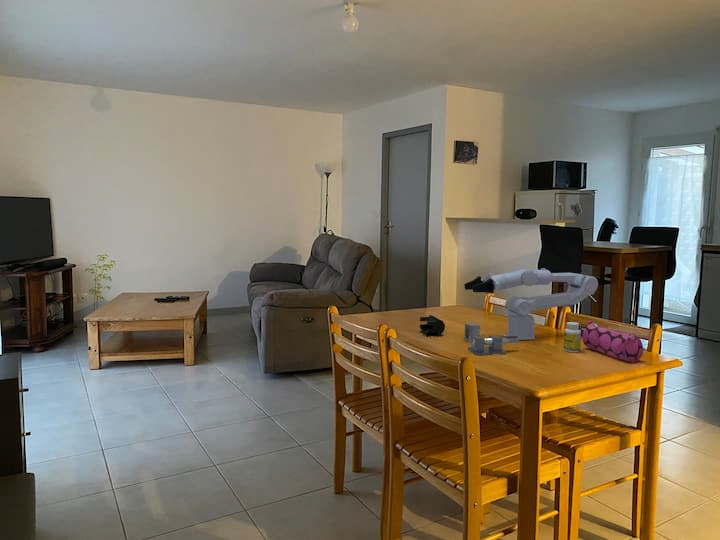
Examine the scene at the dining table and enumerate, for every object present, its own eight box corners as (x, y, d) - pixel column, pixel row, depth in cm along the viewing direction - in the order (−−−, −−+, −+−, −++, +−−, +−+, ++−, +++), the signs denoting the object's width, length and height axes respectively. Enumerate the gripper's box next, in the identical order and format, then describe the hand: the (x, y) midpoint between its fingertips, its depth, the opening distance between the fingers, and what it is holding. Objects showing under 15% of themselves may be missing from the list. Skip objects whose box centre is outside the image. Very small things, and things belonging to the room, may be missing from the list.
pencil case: (576, 348, 193) (578, 320, 192) (598, 346, 196) (600, 319, 195) (623, 364, 173) (625, 333, 172) (647, 362, 176) (649, 331, 175)
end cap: (445, 336, 210) (445, 319, 209) (427, 337, 209) (427, 319, 208) (436, 330, 220) (436, 314, 219) (419, 331, 218) (419, 315, 218)
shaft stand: (511, 347, 193) (512, 333, 192) (522, 353, 185) (522, 338, 184) (468, 349, 190) (468, 334, 189) (477, 355, 182) (477, 340, 181)
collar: (474, 339, 205) (474, 322, 205) (479, 342, 200) (480, 325, 200) (464, 339, 205) (464, 323, 204) (469, 342, 200) (469, 325, 199)
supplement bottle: (559, 349, 191) (561, 322, 190) (572, 348, 193) (573, 321, 192) (571, 353, 186) (572, 325, 185) (583, 352, 188) (585, 324, 187)
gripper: (493, 269, 211) (460, 275, 209) (510, 273, 197) (475, 279, 194) (495, 287, 212) (462, 293, 209) (512, 292, 198) (477, 298, 195)
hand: (468, 288), depth 202 cm, fingers open, 7 cm apart
